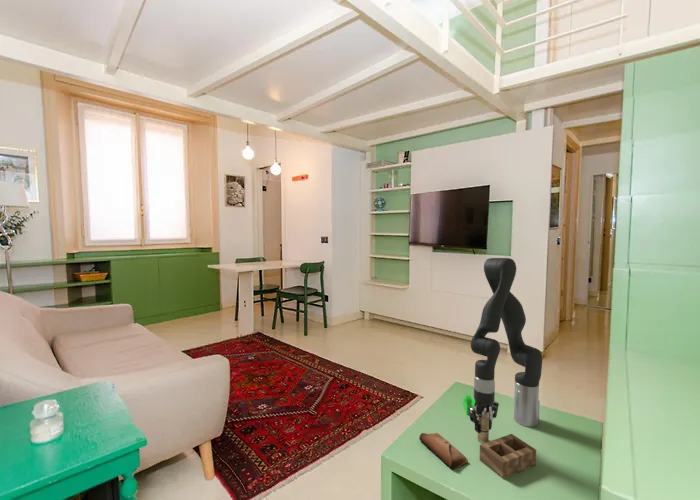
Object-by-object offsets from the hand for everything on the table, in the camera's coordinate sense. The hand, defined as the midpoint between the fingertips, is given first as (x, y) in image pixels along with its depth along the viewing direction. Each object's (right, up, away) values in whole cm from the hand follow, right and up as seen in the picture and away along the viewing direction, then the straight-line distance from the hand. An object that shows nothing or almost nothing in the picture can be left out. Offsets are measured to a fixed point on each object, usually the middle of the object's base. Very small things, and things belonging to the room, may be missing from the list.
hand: (483, 430), depth 129 cm
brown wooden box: (+4, -5, -12) cm, 14 cm away
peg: (0, -4, 0) cm, 4 cm away
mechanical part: (+4, -3, +24) cm, 25 cm away
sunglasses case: (-16, -5, -6) cm, 18 cm away
